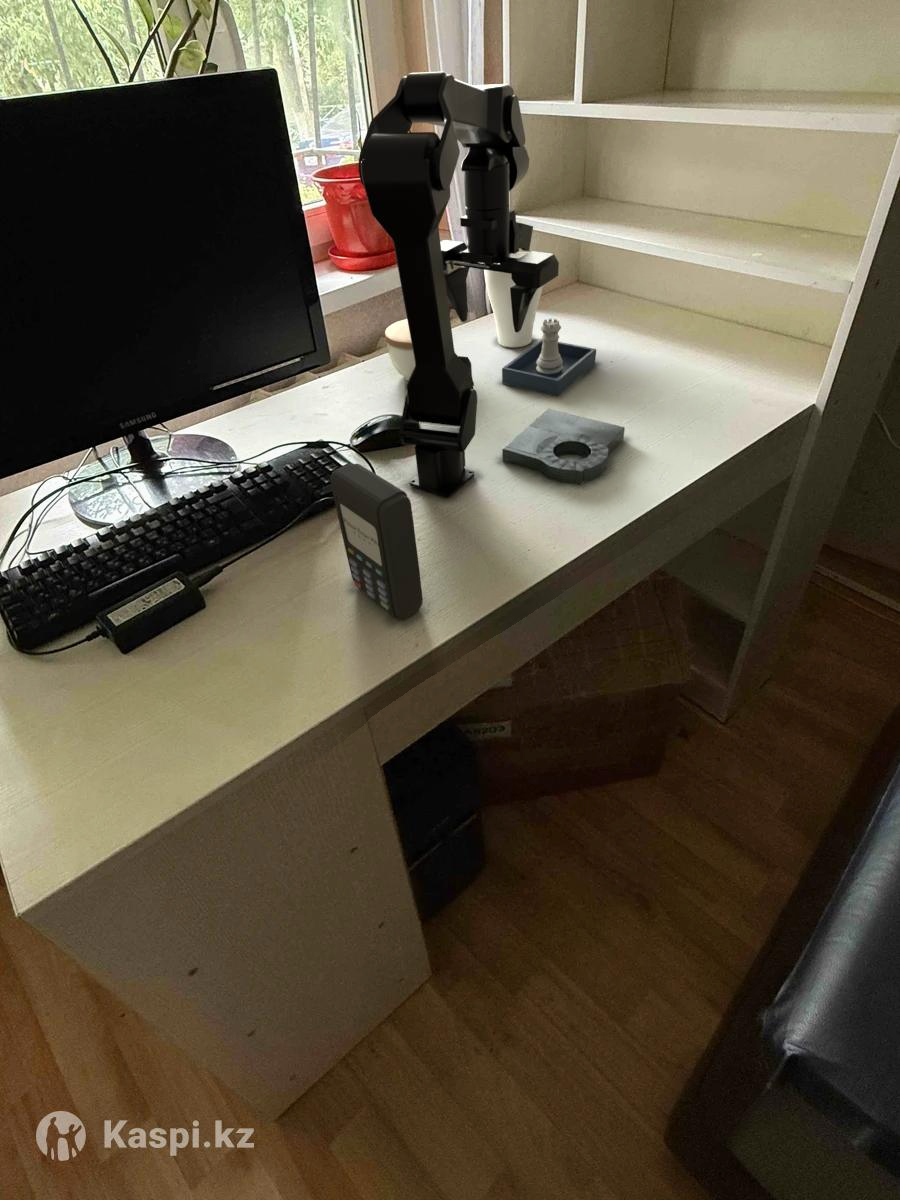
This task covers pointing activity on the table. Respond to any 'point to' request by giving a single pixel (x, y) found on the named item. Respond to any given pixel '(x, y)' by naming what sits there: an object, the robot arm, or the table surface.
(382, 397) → the table surface
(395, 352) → the trinket box
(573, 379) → the tray
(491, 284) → the cup
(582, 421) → the drain plate
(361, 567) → the card reader
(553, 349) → the rook chess piece
